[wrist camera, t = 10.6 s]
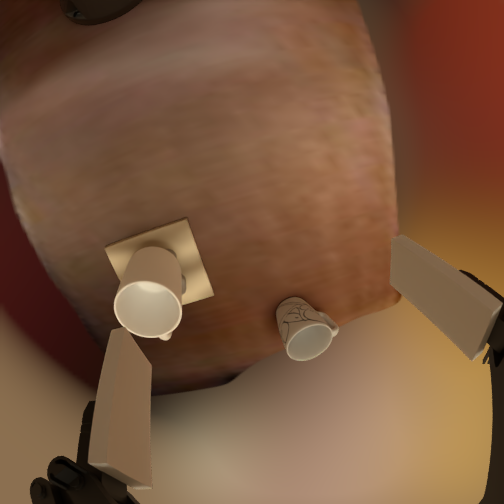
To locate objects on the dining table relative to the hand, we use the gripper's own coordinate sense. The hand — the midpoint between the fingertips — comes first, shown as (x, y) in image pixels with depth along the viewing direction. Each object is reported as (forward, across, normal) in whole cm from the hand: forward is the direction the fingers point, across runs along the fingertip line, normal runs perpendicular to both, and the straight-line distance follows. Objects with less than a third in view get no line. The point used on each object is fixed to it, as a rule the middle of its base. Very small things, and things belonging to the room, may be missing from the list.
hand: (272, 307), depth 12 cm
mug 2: (+31, +9, -28) cm, 43 cm away
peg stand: (+31, -12, -11) cm, 35 cm away
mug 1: (+27, -12, -11) cm, 32 cm away
